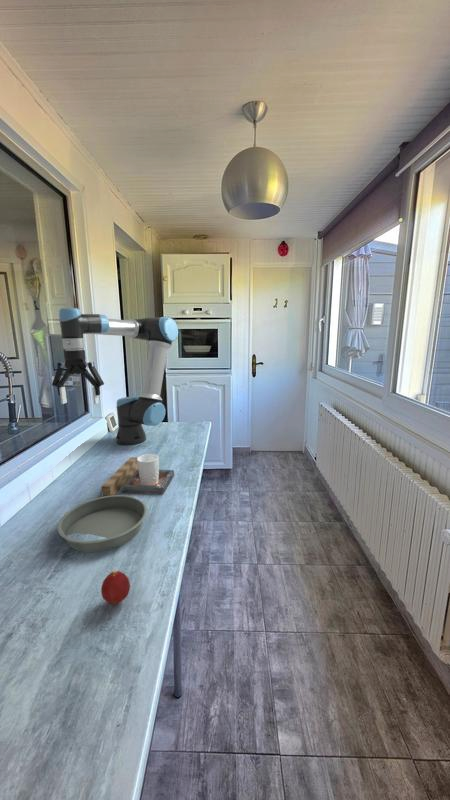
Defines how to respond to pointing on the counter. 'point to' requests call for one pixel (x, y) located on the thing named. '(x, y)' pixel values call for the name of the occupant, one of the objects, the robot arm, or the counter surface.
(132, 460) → the board
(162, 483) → the square tray
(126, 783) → the counter surface
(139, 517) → the cake pan
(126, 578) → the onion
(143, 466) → the white cup
